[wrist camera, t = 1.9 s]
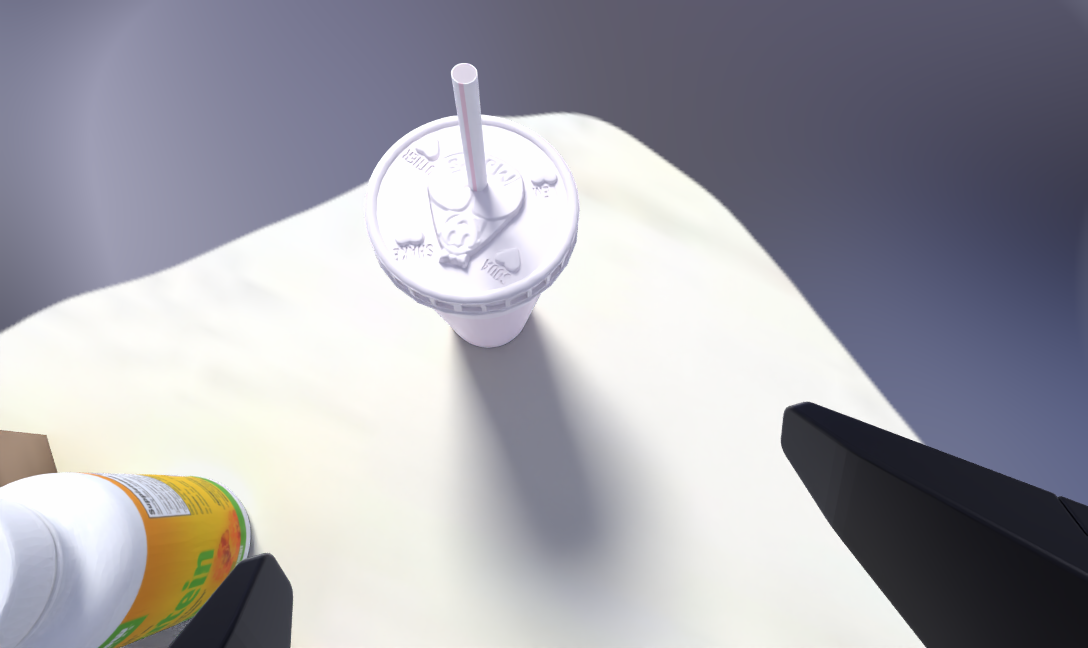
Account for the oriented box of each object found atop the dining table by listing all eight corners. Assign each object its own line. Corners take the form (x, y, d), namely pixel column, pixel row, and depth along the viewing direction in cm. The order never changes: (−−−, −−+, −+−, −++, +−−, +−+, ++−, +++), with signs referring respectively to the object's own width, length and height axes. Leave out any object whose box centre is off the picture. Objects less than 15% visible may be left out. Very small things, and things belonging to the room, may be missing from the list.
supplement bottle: (187, 652, 19) (-112, 805, 10) (82, 570, 20) (-290, 643, 11) (283, 523, 21) (99, 554, 12) (182, 450, 22) (-68, 425, 12)
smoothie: (569, 265, 25) (631, 15, 12) (539, 391, 23) (572, 264, 10) (442, 234, 25) (361, -47, 12) (401, 358, 23) (249, 187, 10)
